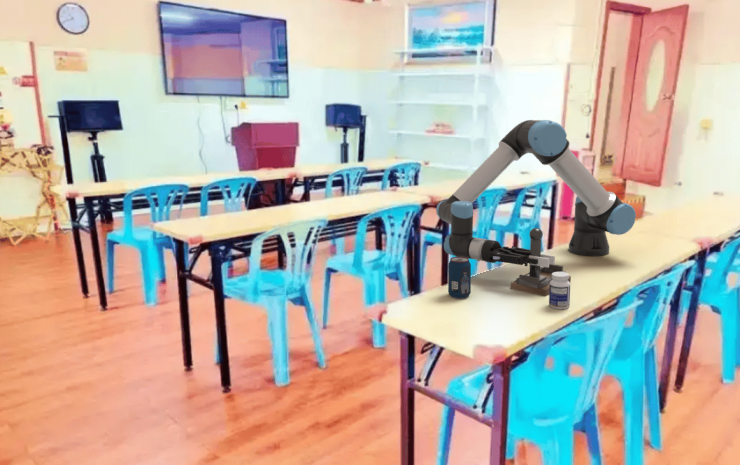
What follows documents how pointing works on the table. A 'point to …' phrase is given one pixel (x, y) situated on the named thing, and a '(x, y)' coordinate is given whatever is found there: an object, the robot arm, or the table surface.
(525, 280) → the press base
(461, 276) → the soda can
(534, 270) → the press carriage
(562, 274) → the pill bottle
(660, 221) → the table surface
